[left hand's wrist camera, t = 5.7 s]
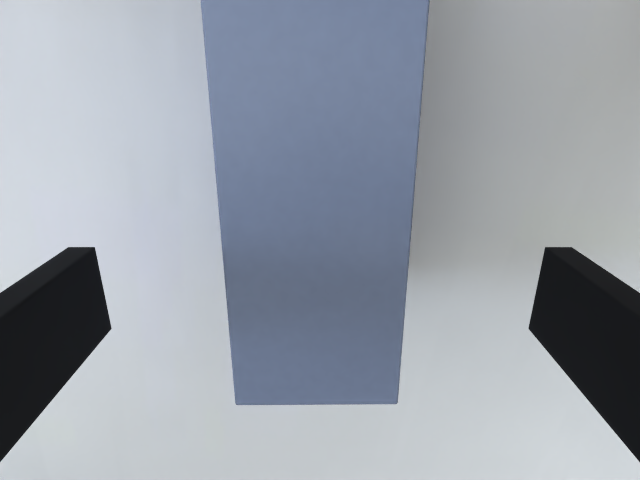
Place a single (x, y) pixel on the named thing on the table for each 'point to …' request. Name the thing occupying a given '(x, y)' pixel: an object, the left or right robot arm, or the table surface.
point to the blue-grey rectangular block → (315, 190)
